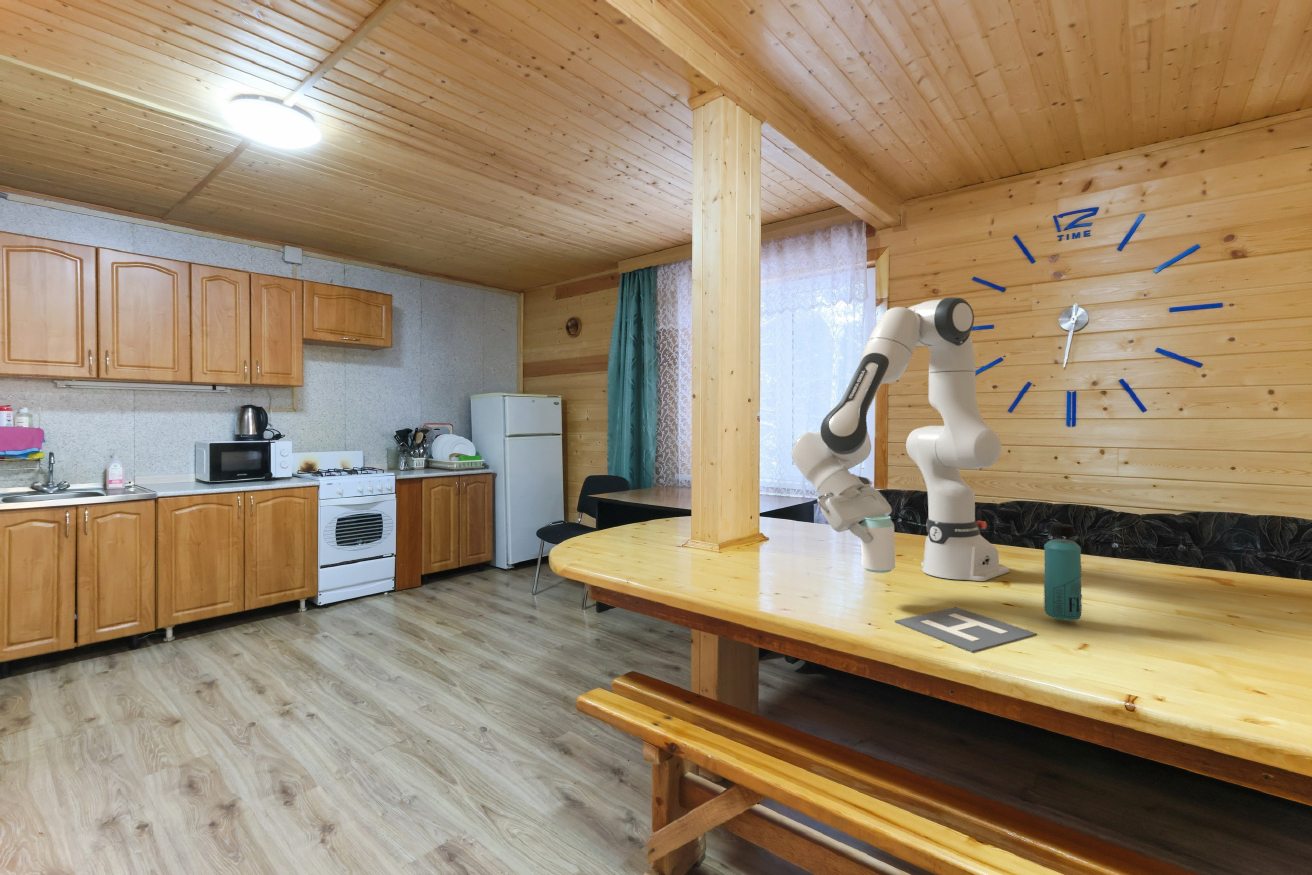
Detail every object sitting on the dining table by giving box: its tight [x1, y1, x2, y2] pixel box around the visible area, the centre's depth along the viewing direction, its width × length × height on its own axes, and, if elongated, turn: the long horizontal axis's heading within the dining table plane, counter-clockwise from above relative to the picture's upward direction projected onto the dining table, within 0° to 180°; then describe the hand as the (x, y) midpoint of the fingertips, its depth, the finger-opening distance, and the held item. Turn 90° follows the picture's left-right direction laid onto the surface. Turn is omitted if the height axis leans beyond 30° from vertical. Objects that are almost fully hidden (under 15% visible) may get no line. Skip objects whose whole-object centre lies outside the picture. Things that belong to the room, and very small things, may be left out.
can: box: [860, 514, 896, 574], centre depth 136 cm, size 7×7×12 cm
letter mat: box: [894, 606, 1038, 653], centre depth 121 cm, size 18×18×1 cm
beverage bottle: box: [1043, 523, 1083, 621], centre depth 123 cm, size 6×7×20 cm
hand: (880, 538), depth 136 cm, fingers closed on can, 7 cm apart
